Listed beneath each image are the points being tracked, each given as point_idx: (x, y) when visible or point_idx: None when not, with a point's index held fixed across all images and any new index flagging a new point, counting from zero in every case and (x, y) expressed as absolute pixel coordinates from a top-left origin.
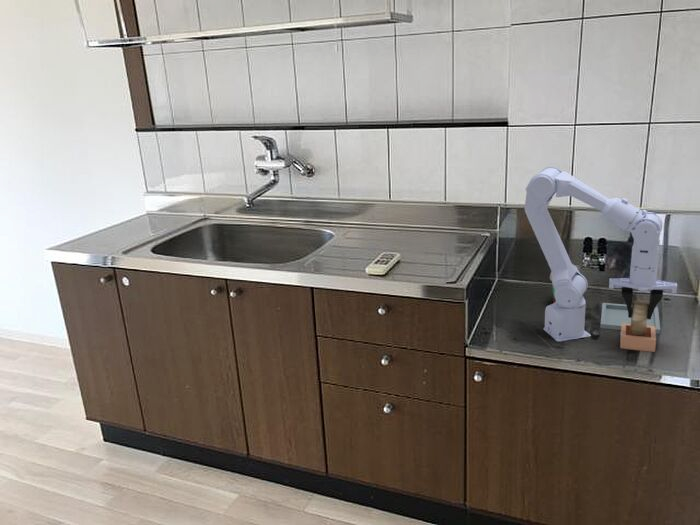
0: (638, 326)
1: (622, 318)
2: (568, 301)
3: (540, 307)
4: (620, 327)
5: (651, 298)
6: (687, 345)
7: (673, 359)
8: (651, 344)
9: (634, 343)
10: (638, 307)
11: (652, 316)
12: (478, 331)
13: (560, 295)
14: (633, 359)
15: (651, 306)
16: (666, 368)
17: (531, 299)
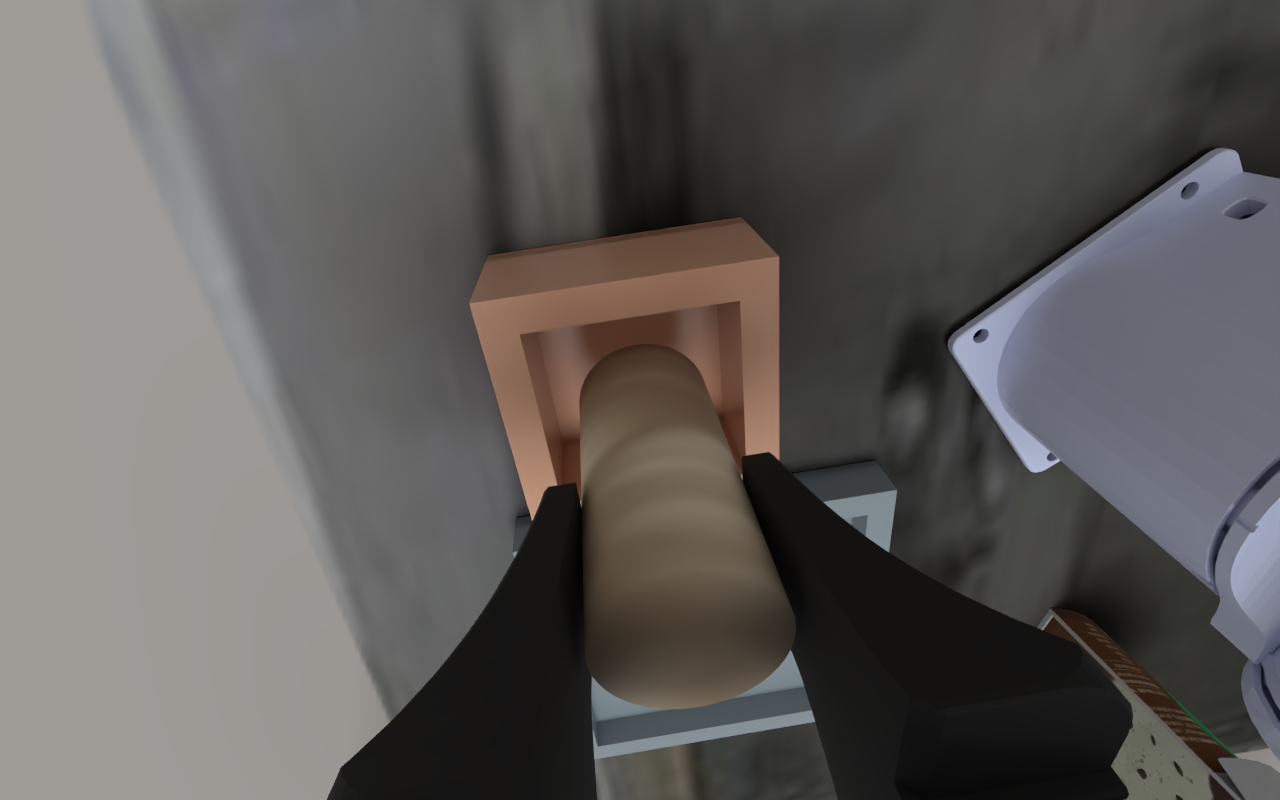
0: (650, 394)
1: None
2: None
3: (1185, 586)
4: None
5: (526, 733)
6: (324, 467)
7: (335, 220)
8: (510, 278)
9: (649, 255)
10: (708, 551)
11: (595, 687)
12: None
13: None
14: (626, 86)
15: (534, 607)
16: (330, 11)
17: (1209, 642)
